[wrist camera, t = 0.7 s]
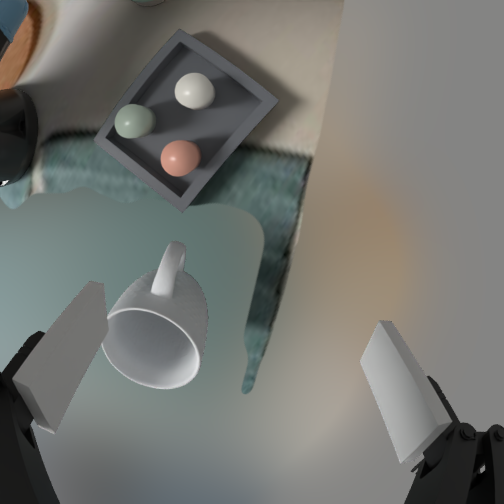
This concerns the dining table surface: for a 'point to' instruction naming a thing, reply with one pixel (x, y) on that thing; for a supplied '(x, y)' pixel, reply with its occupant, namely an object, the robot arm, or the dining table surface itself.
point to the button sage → (135, 121)
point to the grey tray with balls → (186, 117)
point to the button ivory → (195, 91)
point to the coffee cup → (148, 2)
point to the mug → (159, 325)
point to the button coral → (180, 157)
